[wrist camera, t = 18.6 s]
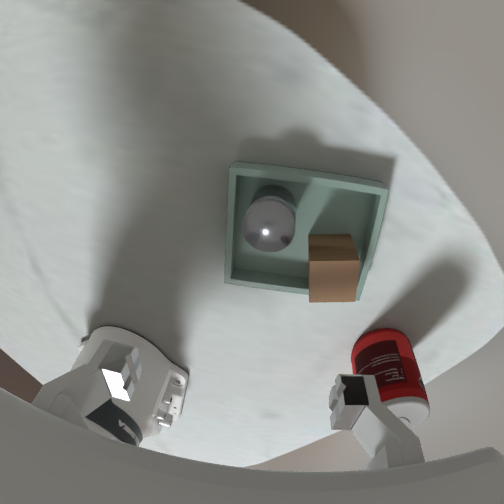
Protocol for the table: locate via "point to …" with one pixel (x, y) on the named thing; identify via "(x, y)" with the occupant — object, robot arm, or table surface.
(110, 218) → the table surface
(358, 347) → the canned food
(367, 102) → the table surface
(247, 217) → the metal peg
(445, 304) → the table surface
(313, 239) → the walnut block
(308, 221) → the tray
